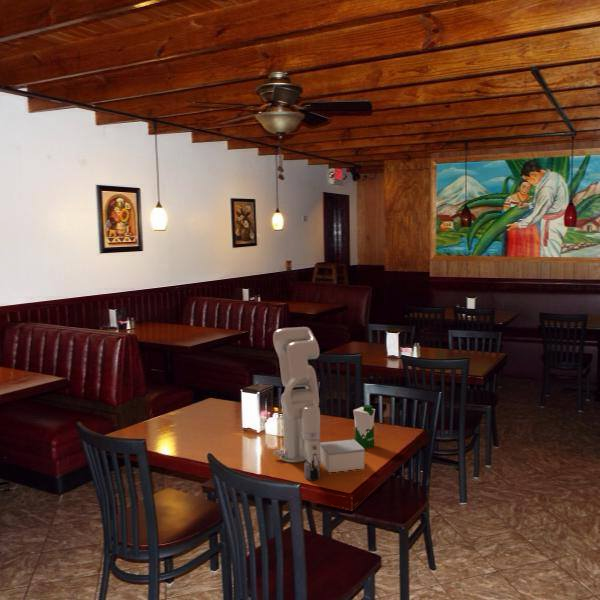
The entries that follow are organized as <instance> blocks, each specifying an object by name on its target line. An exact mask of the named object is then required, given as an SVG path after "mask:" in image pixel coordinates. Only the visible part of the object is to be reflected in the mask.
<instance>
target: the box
mask: <svg viewBox="0 0 600 600" xmlns="http://www.w3.org/2000/svg"><path fill="white" fill-rule="evenodd" d="M320 456H321V462H320V463H321V465H322V466H323V467H324V469H325V470H326V472H327V473H328V472H329V473H328V474H331V473H330V472H336V473H339V472H338V471H344V472H349V471H348V470H353V471H355V470H354V469H362V468H364V469H365V451H359V452H350V453H340V454H331V455H328V454H327V453H326V451H325V450H324V449H323V448H322V447H321V446H320ZM362 470H363V469H362Z"/></svg>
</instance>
